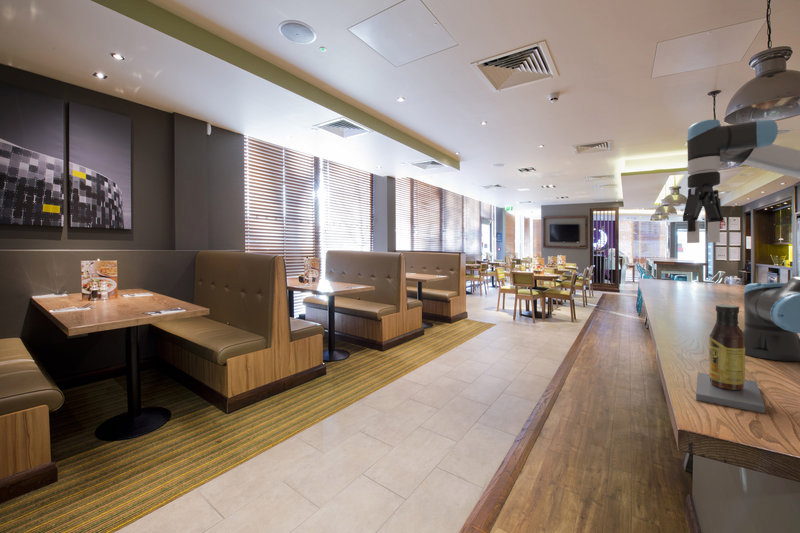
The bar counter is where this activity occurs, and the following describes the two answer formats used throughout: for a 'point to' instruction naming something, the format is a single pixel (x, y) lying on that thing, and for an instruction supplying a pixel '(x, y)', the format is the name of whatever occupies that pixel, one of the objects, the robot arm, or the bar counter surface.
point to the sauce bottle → (727, 350)
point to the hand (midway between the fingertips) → (703, 242)
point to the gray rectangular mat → (730, 394)
